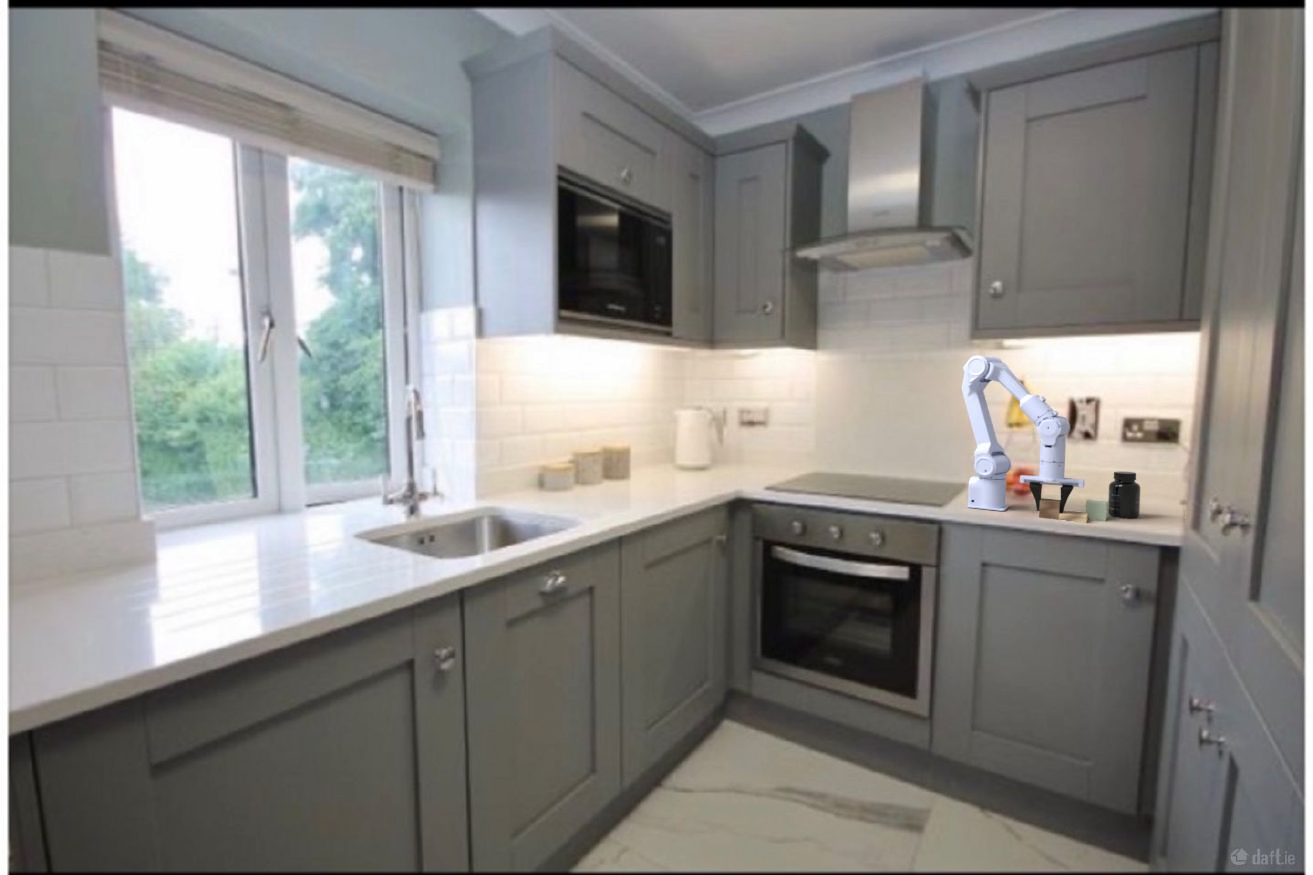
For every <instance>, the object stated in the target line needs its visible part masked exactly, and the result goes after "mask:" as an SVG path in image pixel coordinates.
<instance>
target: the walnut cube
mask: <svg viewBox="0 0 1313 875" xmlns="http://www.w3.org/2000/svg"><path fill="white" fill-rule="evenodd" d="M1060 502H1061V499H1053V498H1042V497H1041V500H1040V507H1039V511H1038V517H1039V518H1042V519H1043V518H1044V519H1051V518H1053V519H1052V520H1059V514H1060Z"/></svg>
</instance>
